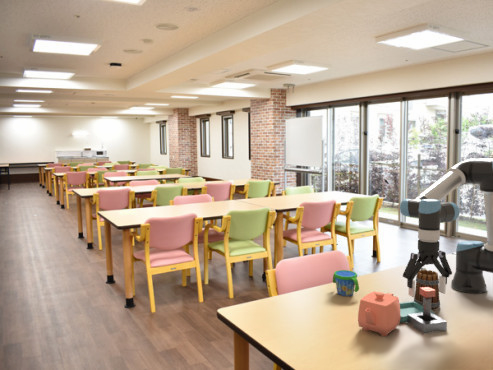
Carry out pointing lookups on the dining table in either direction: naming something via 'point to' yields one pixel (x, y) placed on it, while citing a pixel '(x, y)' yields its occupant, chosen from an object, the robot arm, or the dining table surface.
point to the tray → (409, 310)
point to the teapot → (379, 312)
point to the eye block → (426, 323)
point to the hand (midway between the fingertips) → (426, 294)
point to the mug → (427, 280)
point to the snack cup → (345, 282)
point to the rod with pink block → (427, 301)
